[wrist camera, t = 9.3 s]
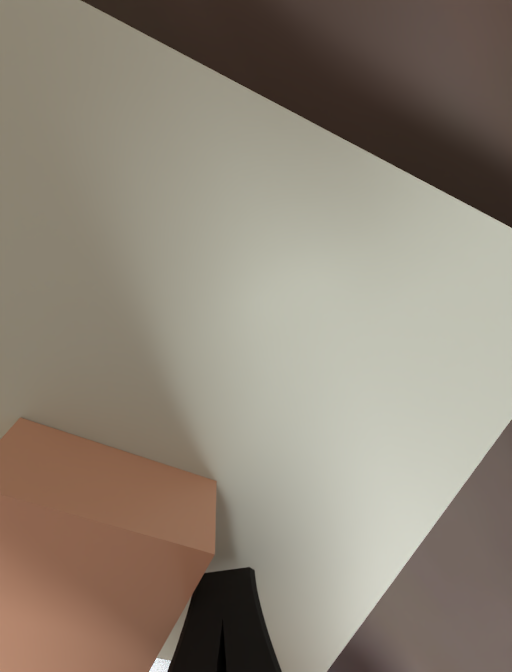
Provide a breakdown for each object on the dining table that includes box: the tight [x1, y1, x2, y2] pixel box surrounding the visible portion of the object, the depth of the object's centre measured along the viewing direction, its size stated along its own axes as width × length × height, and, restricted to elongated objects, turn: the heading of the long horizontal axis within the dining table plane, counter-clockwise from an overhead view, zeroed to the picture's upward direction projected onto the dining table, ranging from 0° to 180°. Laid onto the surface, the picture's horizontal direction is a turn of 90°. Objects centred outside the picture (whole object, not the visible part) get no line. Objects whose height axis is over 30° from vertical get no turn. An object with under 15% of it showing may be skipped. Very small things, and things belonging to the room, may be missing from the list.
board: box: [0, 0, 512, 672], centre depth 10 cm, size 14×14×2 cm
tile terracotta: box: [0, 417, 217, 672], centre depth 9 cm, size 4×4×2 cm
